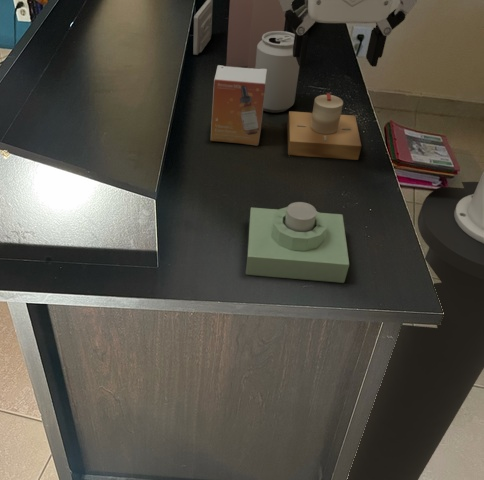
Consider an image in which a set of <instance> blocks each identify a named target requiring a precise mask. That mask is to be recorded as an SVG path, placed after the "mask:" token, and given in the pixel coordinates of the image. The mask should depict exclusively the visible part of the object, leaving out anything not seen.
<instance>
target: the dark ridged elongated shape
mask: <svg viewBox="0 0 484 480" xmlns="http://www.w3.org/2000/svg"><path fill="white" fill-rule="evenodd" d="M305 8H306V7H305V3H304V4H303V5H301V6H300V7H299V8H298V9H295V10H293V11H294V12H295V13H296V14H297V15H298V16H299V15H300V14H301V13H302V12H303V11H304V9H305ZM285 27H286V28H285V32H290V33H293V34H295V30H294V29H293V28H292V26H291V25H290V24H289V23H288V21H287V20H286V25H285Z"/></svg>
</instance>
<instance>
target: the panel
mask: <svg viewBox="0 0 484 480" xmlns="http://www.w3.org/2000/svg"><path fill="white" fill-rule="evenodd" d="M287 116H288V117H287V123H286V129H287V131H286V132H287V133H286V134H287V155H288V156H295V157H296V156H297V157H309V158H310V157H312V158H325V159H339V160H353V161H356V160H357V161H359V158H360V154H361V150H362V142H361V138H360V137H361V136H360V132H359V127H358V122H357V117H356V115H352V114H351V115H350V114H341V116H340V121H339V126H338V130H337V131H336V132H335V133H332V134H321V133H317V132H315V131H313V130H312V129H311V127H310V124H311V118H312V112H307V111H305V112H304V111H292V110H291V111H290V110H289V111H288V115H287Z"/></svg>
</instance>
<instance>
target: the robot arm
mask: <svg viewBox="0 0 484 480" xmlns="http://www.w3.org/2000/svg"><path fill="white" fill-rule="evenodd" d="M294 1H295V0H279V2H280V5H281V8H282V10H283V13H284V16H285V21H286V22H287V21H288V23H289V24H290V25H291V26H292V28H293V29H294V30H295V37H294V45H293V57H296V59H297V62H298V65H299V66H300V67H303V66H305V64H306V59H307V54H308V53H307V51H308V45H309V34H308V30H309V29H310V28H311V27H312V26H314V24H315V23H320V24H321V23H322V24H376V25H375V27H373V28H372V29H371V31H370V37H369V41H368V45H367V50H366V56H365V59H366V60H367V62H368V64H369V65H370V66H371V67H376V68H377V66H378V62H379V59H381V58H382V57H383V54H384V49H385V46H386V42H387V38H388V36H390V35H391V34H392V32H393V30H394V29H395V28H397V27H398V26H399V25H400V24H401V23H403V22H404V21H405V20H406V16H407V15H408V14H409V13H410V12H411V11H412V9H413V7H414V6H415V5H416V4H417V1H418V0H399V1H400V2H399V4H398V6H397V7H396V8H395V9H394V10H392V11H391V9H392V4H393V0H304V4H305V7H306V8H305V9H304V11H303V12H302V13H301V14H300V15H299V16H298V15H297V14H296V13H295V12H294V11H295V10H294V9H293V5H292V4H293V2H294ZM478 182H479V183H478V185H477V188H476V190H475V192H474V194H472V195H469V196H466V197H464V198H463V199H461V200H460V201H459V202H458V204H457V206H456V208H455V211H454V217H455V220H456V222H457V224H458V225H459V227H460V228H461V229H462V230H463V231H464V232H465V233H466V234H468V235H469V236H470V237H472V238H474V239H475V240H477V241H479V242H481V243H483V244H484V170H483V171H482V174H481V176H480V178H479V181H478Z"/></svg>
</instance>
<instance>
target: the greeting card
mask: <svg viewBox="0 0 484 480" xmlns="http://www.w3.org/2000/svg"><path fill="white" fill-rule="evenodd" d="M228 10H229V11H228V13H229V14H228V28H227V29H228V30H227V46H226V61H225V63H226V64H225V66H228V67H240V68H253V69H255V65H256V54H257V45H258V43H259V42H260V41H261V40H262V36H263V35H264V34H265V33H267V32H271V31H285V27H286V25H285V24H286V18H285V16H284V13H283V10H282V8H281V5H280V2H279V0H229V9H228Z"/></svg>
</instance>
